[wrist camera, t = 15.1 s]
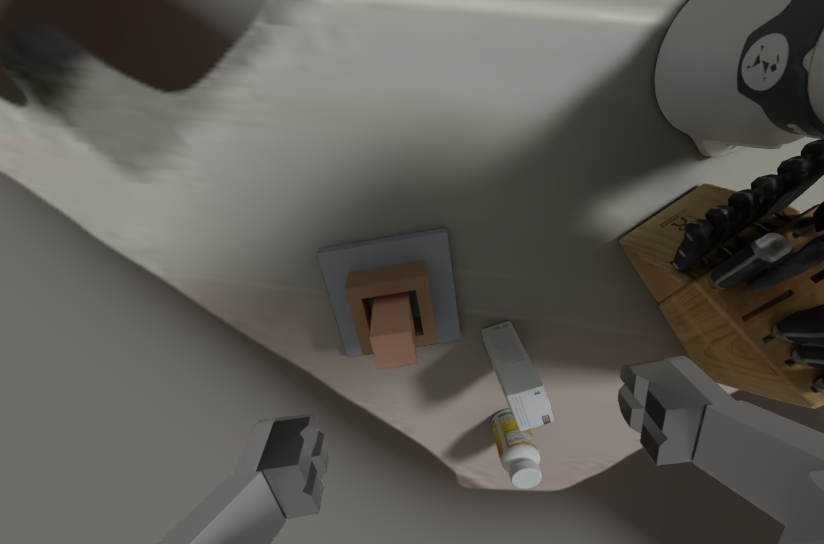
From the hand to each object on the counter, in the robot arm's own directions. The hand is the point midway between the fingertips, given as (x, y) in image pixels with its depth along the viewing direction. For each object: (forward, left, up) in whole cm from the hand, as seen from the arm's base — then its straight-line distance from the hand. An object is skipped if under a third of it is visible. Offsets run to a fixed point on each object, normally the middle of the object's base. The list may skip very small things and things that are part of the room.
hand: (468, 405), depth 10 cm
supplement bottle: (-8, +40, -34) cm, 53 cm away
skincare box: (-8, +25, -34) cm, 43 cm away
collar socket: (+5, +15, -34) cm, 38 cm away
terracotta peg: (+5, +15, -33) cm, 36 cm away
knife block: (-31, +17, -34) cm, 49 cm away
